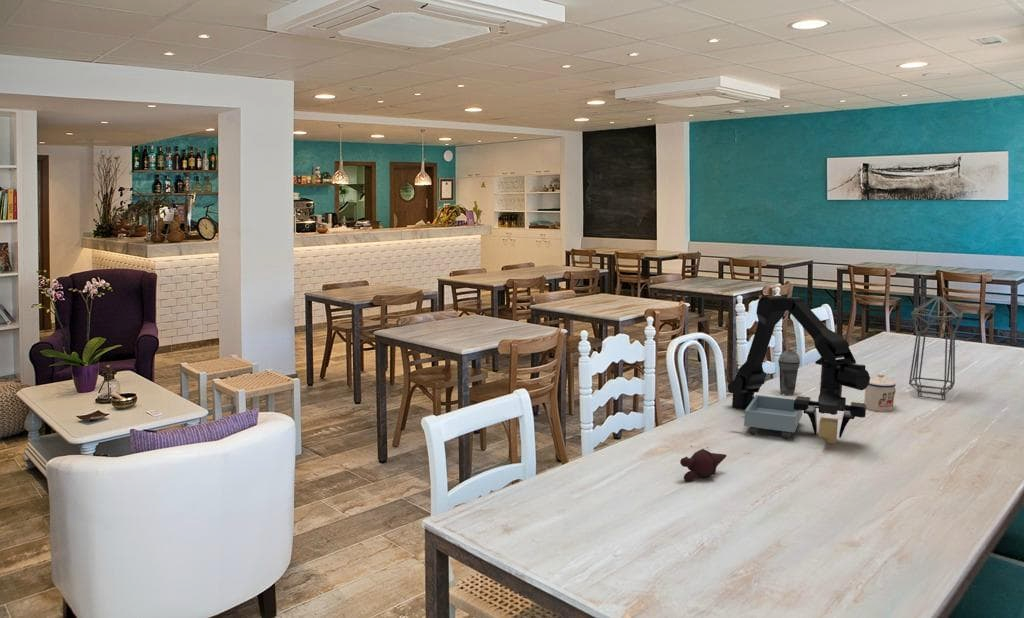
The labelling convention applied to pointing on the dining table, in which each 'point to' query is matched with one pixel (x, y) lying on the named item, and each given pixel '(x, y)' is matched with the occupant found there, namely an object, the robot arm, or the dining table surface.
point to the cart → (772, 415)
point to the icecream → (701, 464)
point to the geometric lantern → (951, 348)
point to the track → (762, 435)
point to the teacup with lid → (880, 394)
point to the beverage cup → (788, 371)
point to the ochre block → (828, 429)
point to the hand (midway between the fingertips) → (827, 435)
